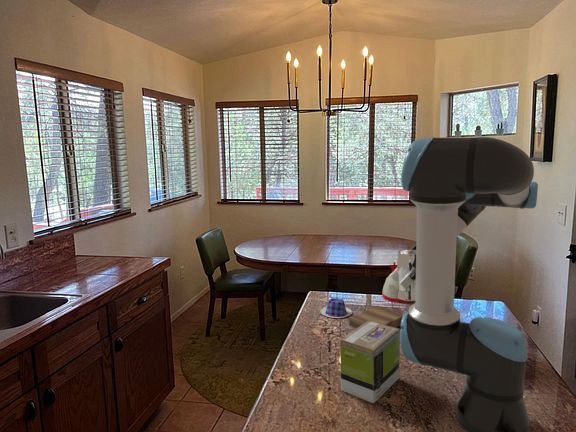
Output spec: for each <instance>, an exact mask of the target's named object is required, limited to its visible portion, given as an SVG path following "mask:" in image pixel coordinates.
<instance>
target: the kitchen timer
mask: <svg viewBox="0 0 576 432" xmlns="http://www.w3.org/2000/svg"><path fill="white" fill-rule="evenodd" d="M392 263H393V265H392V264H389V267H390V268H391V271H392V272H391V273H390V274H389V275H388V276H387V277H386V278H385V282H384V284H383V288H382V296H381V297H382V298H383V299H384V300H386V301H388V302H391V303H397V304H410V303H414V301H405V300H401V299H399V298H398V293H399V279H398V280H397V281H395V280H394V279H392V278H391V277H390V275H391V274H392V273H393V272H394V270H395V269H396V268H397V264H396V262H395V261H394V262H392Z"/></svg>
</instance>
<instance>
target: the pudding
mask: <svg viewBox="0 0 576 432" xmlns="http://www.w3.org/2000/svg"><path fill="white" fill-rule="evenodd" d="M345 304H346V303H345V302H344V299H342V298H339V297H334V298H330V299H329V300H328V302H327V305H326V306H325V307H323V308H321V309H320V311H319V312H320V313H321V314H322V315H323V316H324V317H328V318H333V319H341V318H346V317H350V316H352V314H353V311H352V309H350V308H348V307H346V305H345Z"/></svg>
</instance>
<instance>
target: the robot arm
mask: <svg viewBox="0 0 576 432" xmlns="http://www.w3.org/2000/svg"><path fill="white" fill-rule="evenodd" d="M534 176H535V167H534V163H533V161H532V158H531V157H530V156H529V155H528V154H527V153H526V152H525V151H524V150H523V149H521V148H519V147H518V146H516V145H514V144H512V143H510V142H507V141H505V140H503V139H500V138H494V137H491V136H490V137H489V136H479V137H476V136H475V137H428V138H427V137H426V138H418V139H415V140H414V141H412V142H411V143H410V145H409V146H408V148H407V151H406V153H405V156H404V159H403V163H402V168H401V178H400V179H401V181H400V182H401V188H402V190H404V191H405V192H410V197H409V198H410V201H411V203H413V205H414V206H415V207H416V242H415V244H413V245H412V246H411V247H410V248H409V249H408V250H416V266H415V268H416V269H415V268H413V269H412V270H411V271H410V272H409V273H408V274H407V275H406V276H405V277H404V278H403V279H402V280H401V282H400V284H401V285H402V286H403V287H404V288H405V289H407V288H408V287H409V285H410V284H411V283H412V282H413V281H414V280H415V279H416V298H415V301H414V302H413V304H412V305H410V306H409V308H408V311H407V312H405V313H403V314H402V315H403V317H402V320H401V325H400V348H401V349H400V350H401V351H402V354H403V356H404V357H405V358H406V359H407V360H408V361H411V362H413V363H417V364H419V365H421V366H428V367H432V368H436V369H440V370H444V371H447V372H452V373H456V374H461V375H465V376H466V383H465V385H464V388H463V391H462V392H461V395H460V396H459V398H458V401H457V404H456V413H455V414H456V419H457V421H458V422H459V423H460V425H461V426H462V427H463V428H464V429H465V430H467V431H468V432H530V427H531V421H530V417H529V414H528V413H529V412H528V409H527V406H526V402H525V400H524V392H525V391H524V389H525V381H526V380H525V379H526V378H525V377H526V367H527V365H526V364H527V361H528V357H529V354H528V340H527V338H526V336H525V334H524V333H523V332H522V331H521V330H520V329H518V328H516V326H514V325H512V324H510V323H509V322H507V321H504V320H500V319H497V318H493V317H489V316H488V317H487V316H483V317H481V316H476V317H474V318H472V319H471V320H470V322H463V321H461V313H460V311H459V310H458V309H457V307H455V284H456V261H457V260H456V259H457V258H456V257H457V237H459V236H460V235H461V234H462V233H463V232H464V230H465V229H467V227H468V226H469V225H470V224H472V222H473V221H474V220H475V219H476V218H477V217H478V216H479V215H480V214H482V212H483V211H485V209H486V207H497V208H509V209H510V208H513V209H522V210H523V209H535V208H536V206H537V200H538V191H539V190H538V189H539V184H538V183H537V182H536V181H533V179H534ZM391 273H392V272H391ZM391 273H390V274H391ZM390 274H389V275H390ZM390 277H391V278H392V279H394V280H395V281H397V280H398V279H399V278H398V271H397V268H396V269H395V270H394V272H393V273H392V274H391V275H390Z"/></svg>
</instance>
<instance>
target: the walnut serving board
mask: <svg viewBox="0 0 576 432" xmlns="http://www.w3.org/2000/svg"><path fill="white" fill-rule="evenodd" d="M403 315H404V314H402V313H399V312H396V311H392V310H390V309H387V308H385V307H381V306H379V305H376V306H373V307H372V308H369V309H366V310H365V311H361V312H359V313H356V314H354V315H350V316H348V325H349V327H352V328H355V329H357V328H358V327H360V326H361V325H362V324H364V323H365V322H367V321H371V322H375V323H379V324H382V325H386V326H390V327H394V328H397V327H399V326H400V327H401V320H402V317H403Z"/></svg>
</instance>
